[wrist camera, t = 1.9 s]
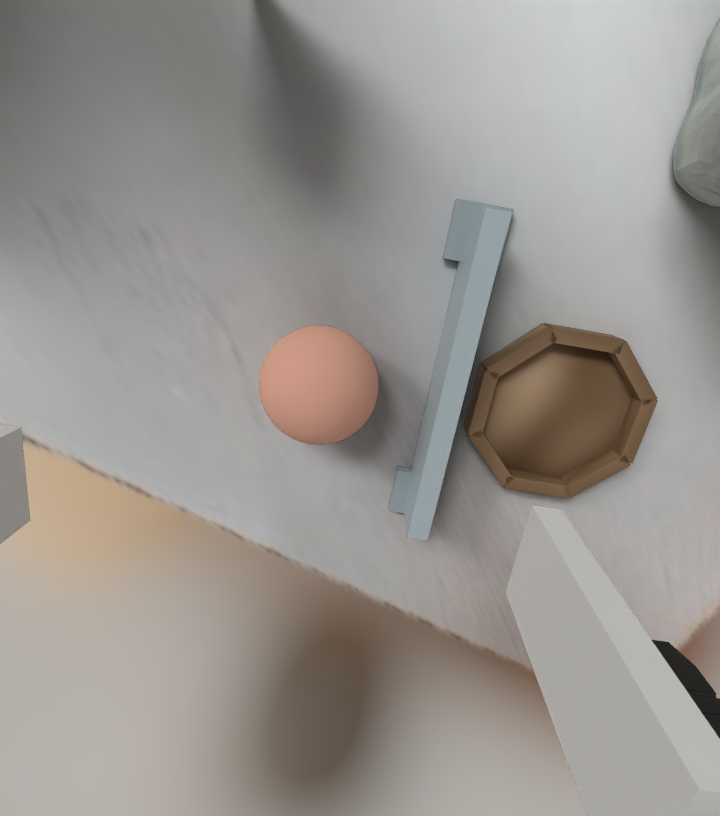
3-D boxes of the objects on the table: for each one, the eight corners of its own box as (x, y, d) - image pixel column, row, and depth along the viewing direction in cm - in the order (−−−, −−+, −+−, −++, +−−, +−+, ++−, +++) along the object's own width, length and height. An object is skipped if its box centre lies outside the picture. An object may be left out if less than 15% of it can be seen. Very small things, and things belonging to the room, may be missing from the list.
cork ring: (452, 468, 30) (456, 479, 29) (492, 314, 27) (499, 317, 25) (603, 494, 30) (614, 506, 29) (662, 344, 27) (678, 349, 26)
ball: (268, 410, 29) (239, 453, 23) (279, 308, 27) (251, 326, 21) (368, 427, 30) (366, 474, 23) (387, 327, 27) (390, 350, 21)
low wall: (389, 506, 31) (390, 542, 28) (455, 200, 25) (469, 192, 21) (433, 513, 31) (440, 550, 28) (510, 210, 25) (534, 204, 21)
